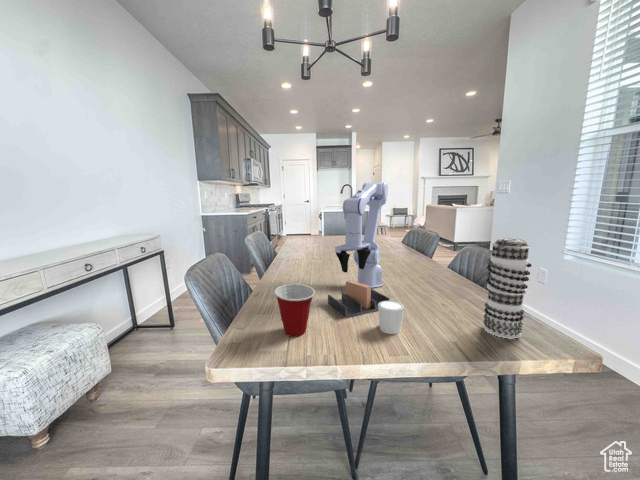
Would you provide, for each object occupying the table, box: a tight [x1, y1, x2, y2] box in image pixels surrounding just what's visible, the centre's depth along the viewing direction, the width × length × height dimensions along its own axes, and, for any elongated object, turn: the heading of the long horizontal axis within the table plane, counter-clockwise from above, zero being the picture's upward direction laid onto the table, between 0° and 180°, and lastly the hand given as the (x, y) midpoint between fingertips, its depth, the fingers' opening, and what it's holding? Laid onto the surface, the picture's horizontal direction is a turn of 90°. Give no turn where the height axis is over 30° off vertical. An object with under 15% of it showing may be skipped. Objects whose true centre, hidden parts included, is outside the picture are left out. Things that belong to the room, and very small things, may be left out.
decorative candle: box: [482, 237, 532, 339], centre depth 67 cm, size 9×9×25 cm
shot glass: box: [378, 300, 405, 335], centre depth 71 cm, size 7×7×7 cm
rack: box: [327, 288, 391, 319], centre depth 86 cm, size 17×12×3 cm
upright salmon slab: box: [345, 279, 372, 308], centre depth 86 cm, size 2×9×7 cm, turn 42°
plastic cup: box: [274, 283, 316, 338], centre depth 69 cm, size 11×11×12 cm
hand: (353, 270), depth 92 cm, fingers open, 7 cm apart
